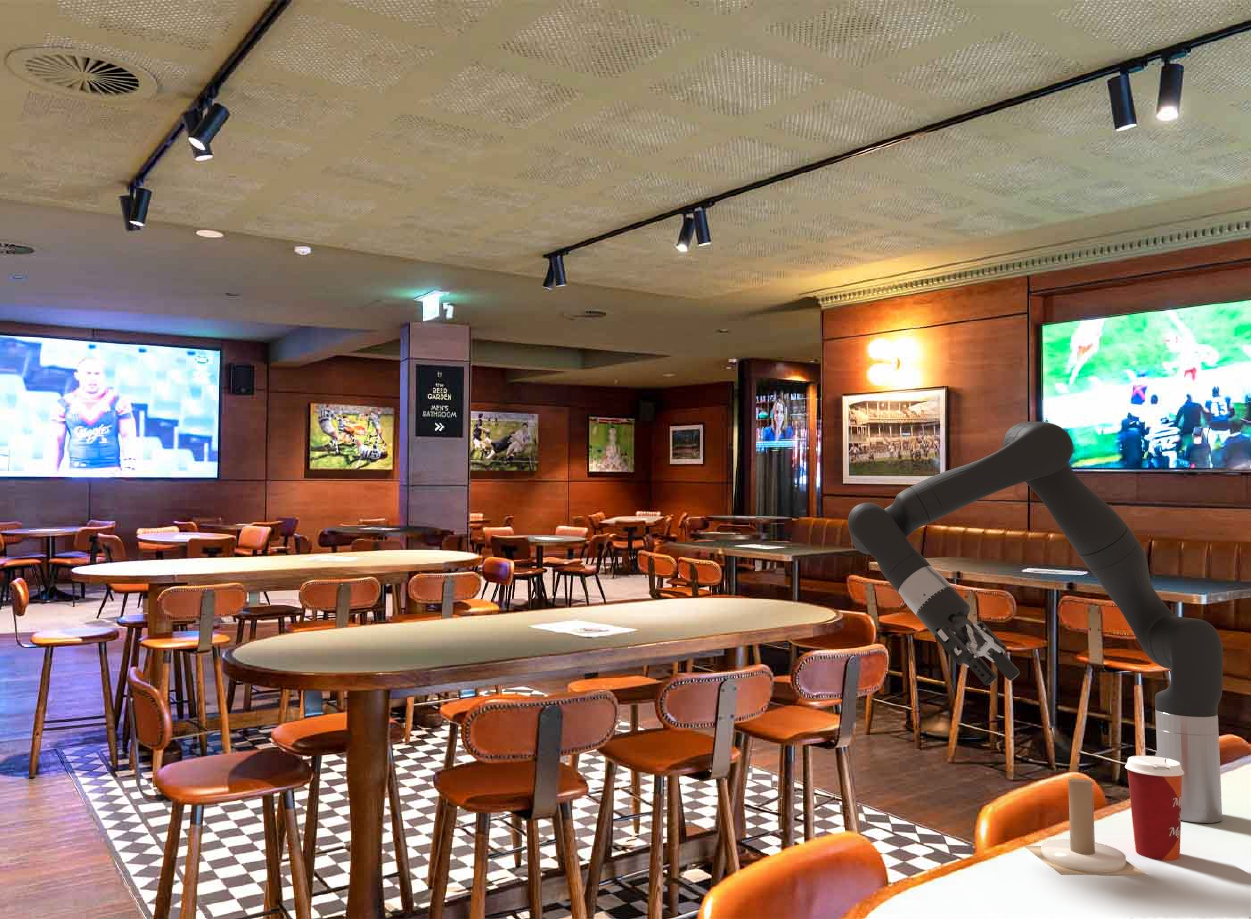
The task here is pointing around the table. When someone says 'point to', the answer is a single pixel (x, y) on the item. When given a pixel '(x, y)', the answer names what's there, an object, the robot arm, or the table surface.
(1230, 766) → the table surface
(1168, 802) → the paper cup
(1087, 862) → the beige peg stand
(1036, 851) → the cork mat
